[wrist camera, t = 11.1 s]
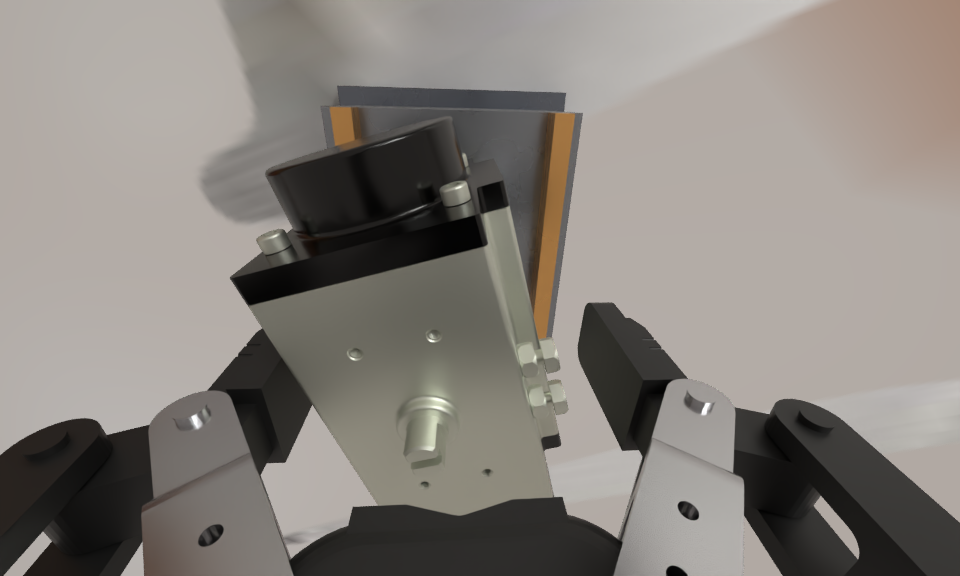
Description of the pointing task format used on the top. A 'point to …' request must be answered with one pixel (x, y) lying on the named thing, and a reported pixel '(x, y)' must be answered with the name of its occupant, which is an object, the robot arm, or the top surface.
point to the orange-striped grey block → (486, 135)
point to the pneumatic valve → (411, 319)
